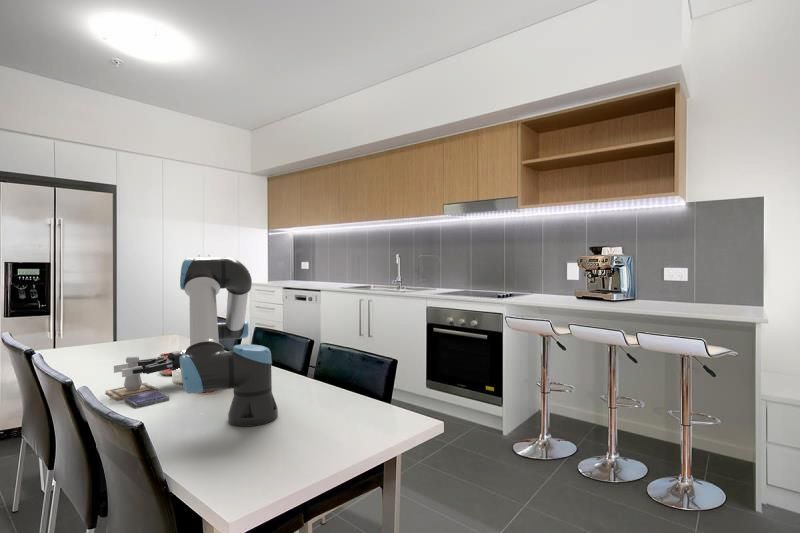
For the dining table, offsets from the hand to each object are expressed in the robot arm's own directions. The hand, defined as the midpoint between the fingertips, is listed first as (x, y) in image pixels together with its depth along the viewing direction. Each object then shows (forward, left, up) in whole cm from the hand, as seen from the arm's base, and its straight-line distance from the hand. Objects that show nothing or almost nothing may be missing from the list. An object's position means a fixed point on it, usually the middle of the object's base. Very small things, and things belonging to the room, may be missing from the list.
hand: (118, 371), depth 166 cm
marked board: (0, -5, -9) cm, 10 cm away
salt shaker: (0, -5, -8) cm, 10 cm away
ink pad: (-15, -5, -9) cm, 18 cm away
